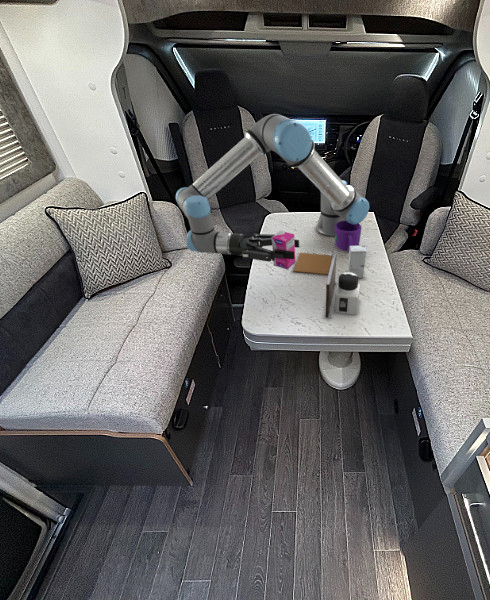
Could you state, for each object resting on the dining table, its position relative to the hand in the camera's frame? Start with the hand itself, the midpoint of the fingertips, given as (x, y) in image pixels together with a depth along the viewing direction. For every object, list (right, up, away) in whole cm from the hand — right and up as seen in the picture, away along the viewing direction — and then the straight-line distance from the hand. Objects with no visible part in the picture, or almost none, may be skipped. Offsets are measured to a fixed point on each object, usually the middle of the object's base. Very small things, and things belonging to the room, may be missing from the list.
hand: (296, 249), depth 116 cm
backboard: (+12, -17, +7) cm, 22 cm away
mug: (+20, +5, +34) cm, 40 cm away
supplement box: (-4, -5, +5) cm, 8 cm away
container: (+17, -20, +4) cm, 27 cm away
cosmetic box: (+22, -7, +19) cm, 30 cm away
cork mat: (+5, -2, +25) cm, 26 cm away
